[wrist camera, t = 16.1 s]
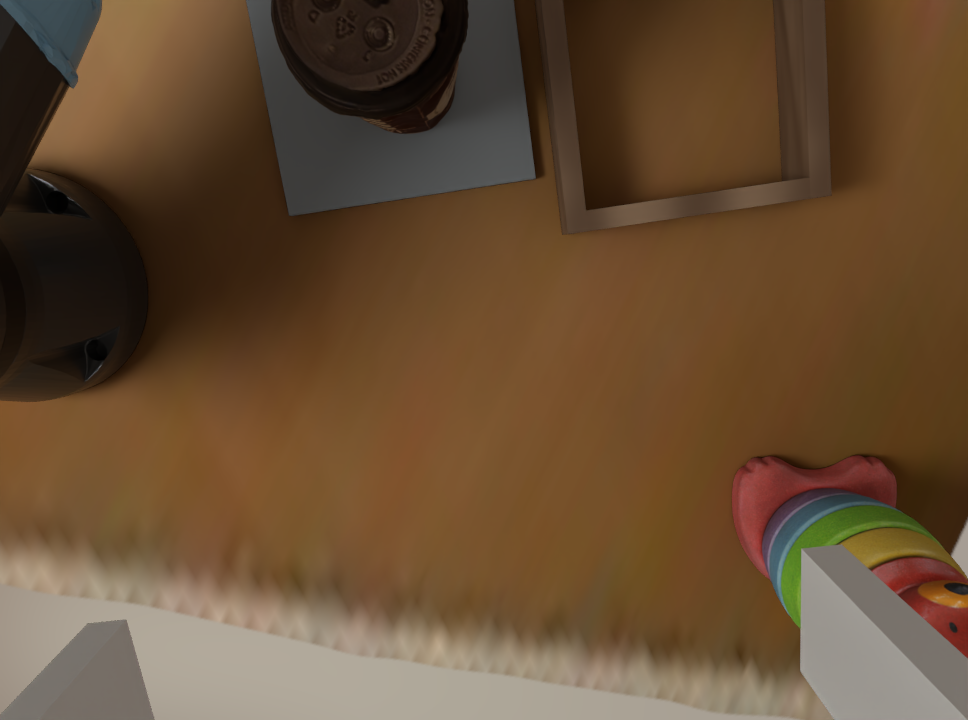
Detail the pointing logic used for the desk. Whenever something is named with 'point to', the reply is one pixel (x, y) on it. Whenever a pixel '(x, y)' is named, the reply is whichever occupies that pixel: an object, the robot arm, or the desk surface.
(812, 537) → the stacking bear
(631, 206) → the square frame
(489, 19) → the mat
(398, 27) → the coffee cup
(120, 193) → the desk surface
